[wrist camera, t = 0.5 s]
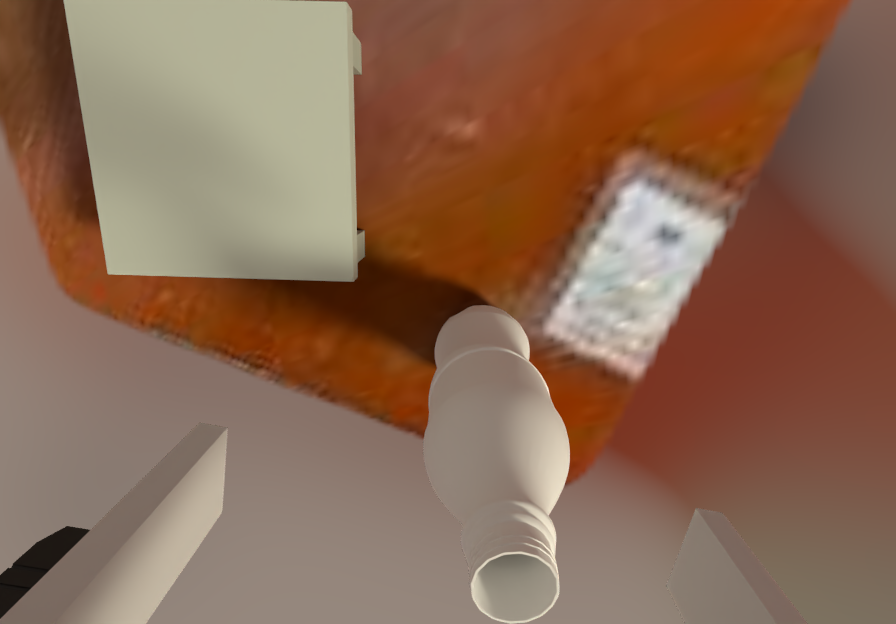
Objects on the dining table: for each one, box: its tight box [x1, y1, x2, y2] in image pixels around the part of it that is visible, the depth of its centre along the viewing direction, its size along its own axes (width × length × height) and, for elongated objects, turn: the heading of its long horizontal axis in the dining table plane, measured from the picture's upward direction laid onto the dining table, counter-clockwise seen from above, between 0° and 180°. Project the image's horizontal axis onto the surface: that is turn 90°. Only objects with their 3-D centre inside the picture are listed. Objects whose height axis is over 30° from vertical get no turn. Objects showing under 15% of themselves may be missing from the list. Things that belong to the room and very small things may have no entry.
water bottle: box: [423, 305, 570, 623], centre depth 28 cm, size 7×7×25 cm
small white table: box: [64, 0, 365, 282], centre depth 33 cm, size 16×16×7 cm
